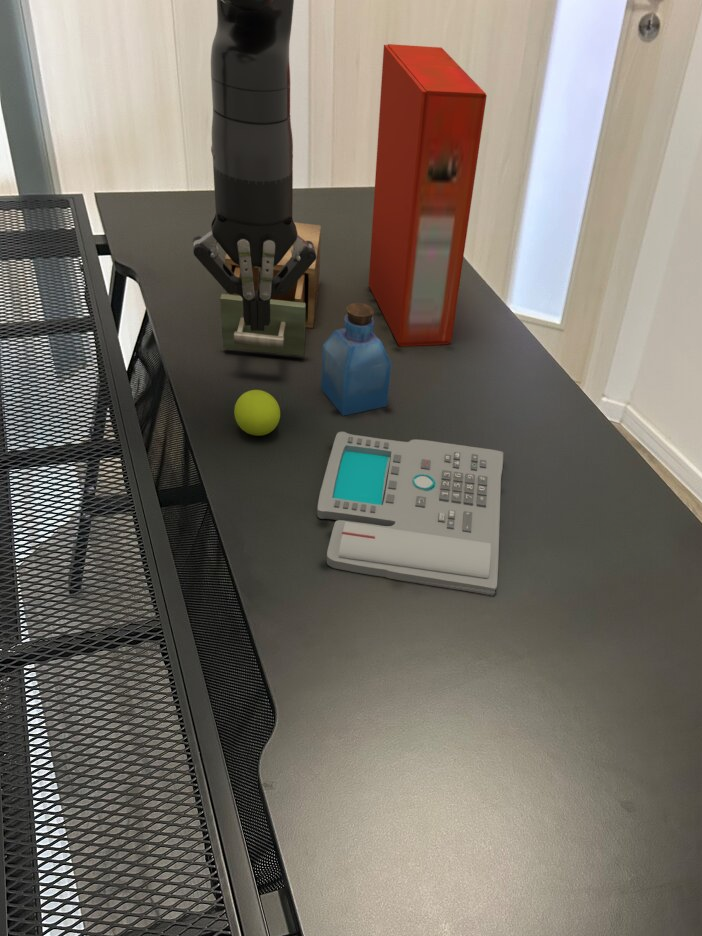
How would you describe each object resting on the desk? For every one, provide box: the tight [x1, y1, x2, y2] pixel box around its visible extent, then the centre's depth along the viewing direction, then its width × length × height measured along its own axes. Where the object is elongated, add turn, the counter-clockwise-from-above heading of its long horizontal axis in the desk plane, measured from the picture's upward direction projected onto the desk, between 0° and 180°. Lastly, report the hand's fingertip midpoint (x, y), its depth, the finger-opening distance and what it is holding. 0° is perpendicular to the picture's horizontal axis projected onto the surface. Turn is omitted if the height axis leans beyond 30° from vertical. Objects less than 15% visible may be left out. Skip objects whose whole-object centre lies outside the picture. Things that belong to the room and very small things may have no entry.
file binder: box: [368, 43, 488, 347], centre depth 113 cm, size 8×17×32 cm, turn 18°
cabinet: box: [224, 221, 322, 329], centre depth 119 cm, size 14×12×9 cm
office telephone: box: [316, 431, 504, 596], centre depth 94 cm, size 23×3×20 cm
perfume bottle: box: [320, 302, 392, 417], centre depth 104 cm, size 6×6×12 cm
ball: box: [233, 389, 281, 437], centre depth 99 cm, size 5×5×5 cm
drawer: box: [219, 265, 306, 357], centre depth 111 cm, size 18×10×7 cm, turn 3°
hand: (257, 326), depth 94 cm, fingers closed
